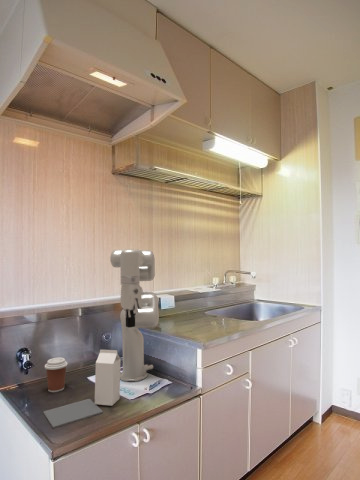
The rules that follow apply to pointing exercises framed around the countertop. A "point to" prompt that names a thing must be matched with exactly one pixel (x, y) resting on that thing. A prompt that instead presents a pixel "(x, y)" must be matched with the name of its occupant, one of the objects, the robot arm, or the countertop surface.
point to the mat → (72, 412)
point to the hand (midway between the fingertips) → (130, 326)
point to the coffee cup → (56, 374)
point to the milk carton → (107, 378)
